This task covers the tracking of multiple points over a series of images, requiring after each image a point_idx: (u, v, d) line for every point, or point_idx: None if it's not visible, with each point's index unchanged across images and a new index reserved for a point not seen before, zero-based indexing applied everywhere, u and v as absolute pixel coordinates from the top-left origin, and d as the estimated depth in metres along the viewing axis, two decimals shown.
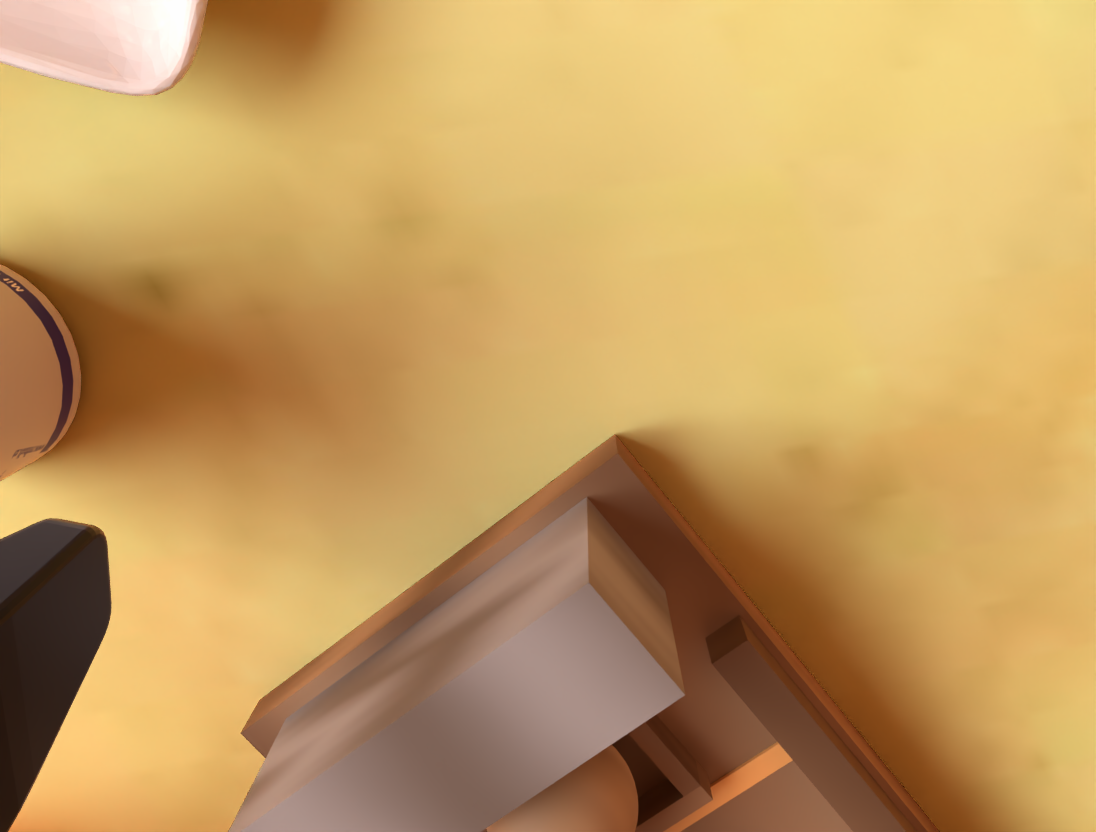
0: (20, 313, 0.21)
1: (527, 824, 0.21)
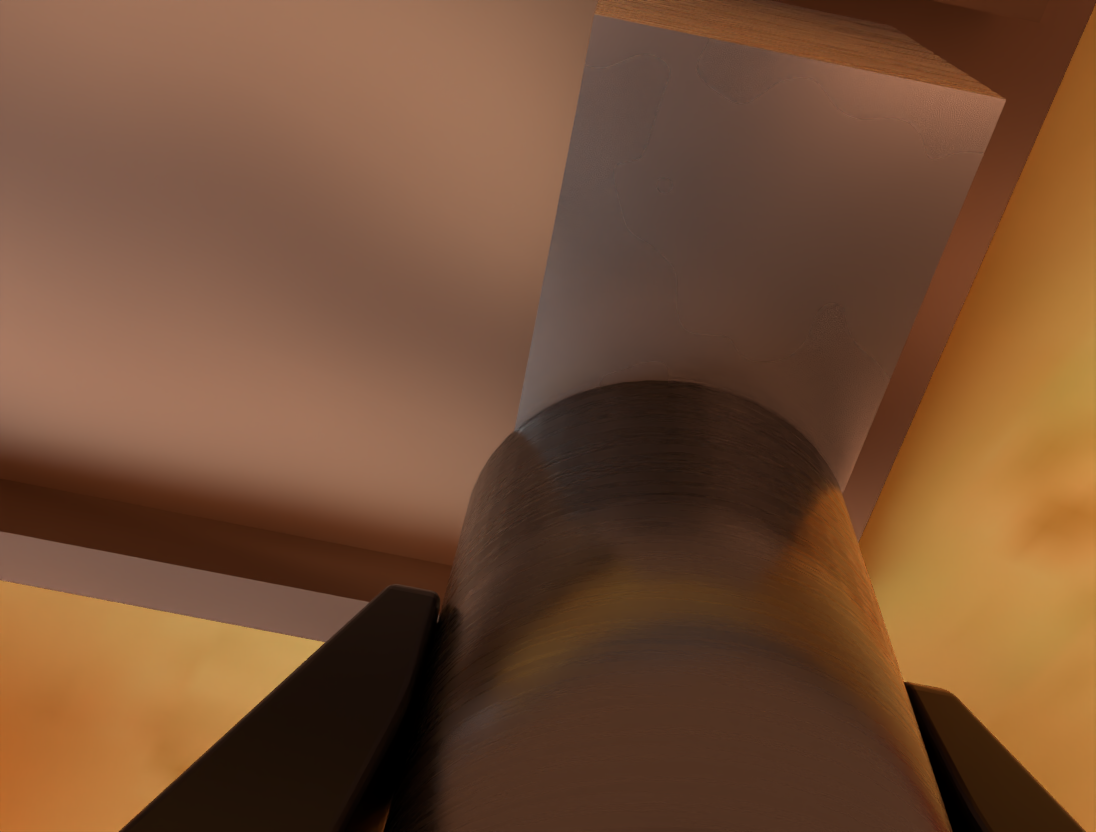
0: None
1: None
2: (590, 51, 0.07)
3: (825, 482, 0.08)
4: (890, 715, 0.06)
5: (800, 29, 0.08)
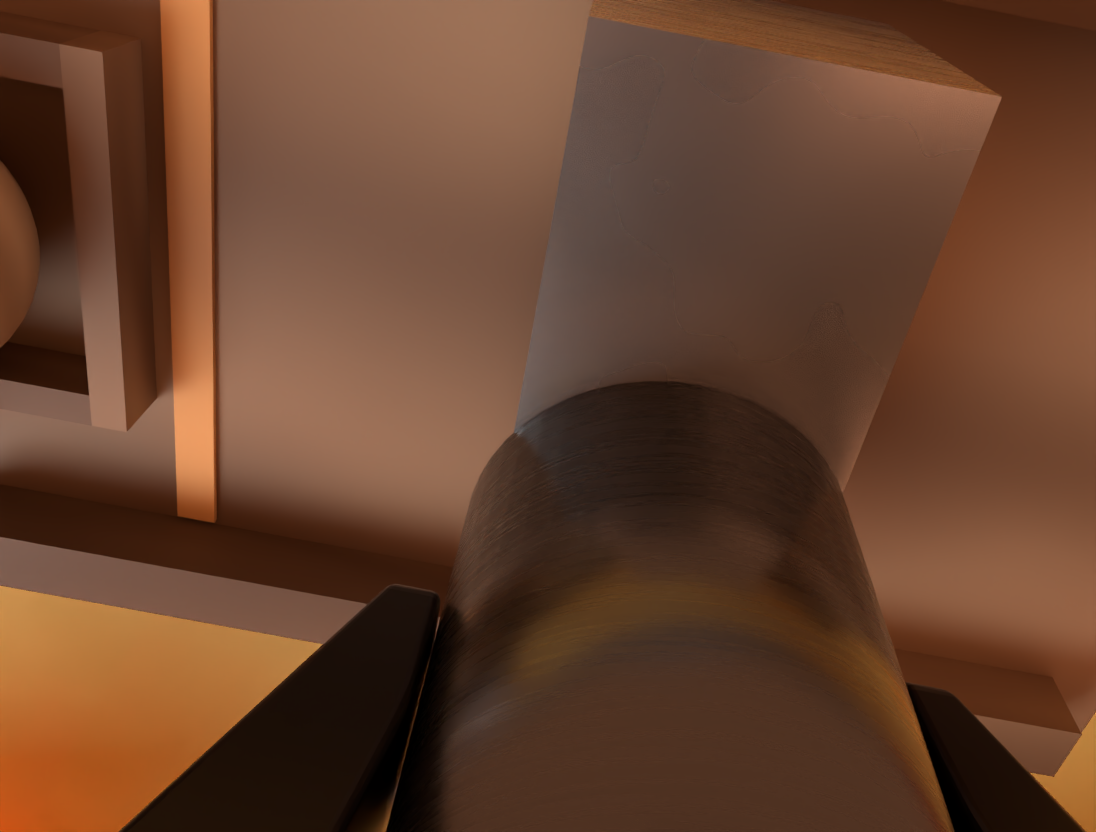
0: None
1: None
2: (585, 53, 0.07)
3: (825, 481, 0.08)
4: (890, 714, 0.06)
5: (795, 28, 0.08)
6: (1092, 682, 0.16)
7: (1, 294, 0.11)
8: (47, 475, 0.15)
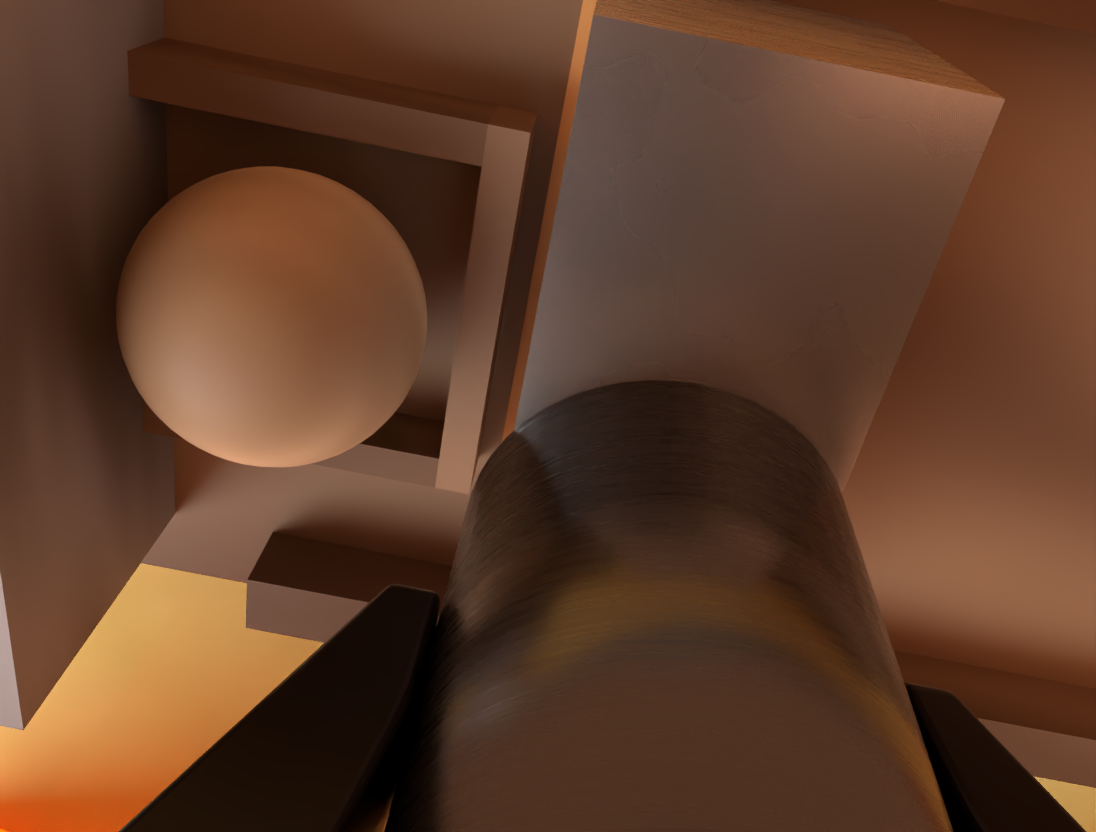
0: None
1: (144, 370, 0.10)
2: (589, 51, 0.07)
3: (825, 482, 0.08)
4: (891, 715, 0.06)
5: (799, 29, 0.08)
6: None
7: (413, 369, 0.11)
8: (350, 529, 0.15)
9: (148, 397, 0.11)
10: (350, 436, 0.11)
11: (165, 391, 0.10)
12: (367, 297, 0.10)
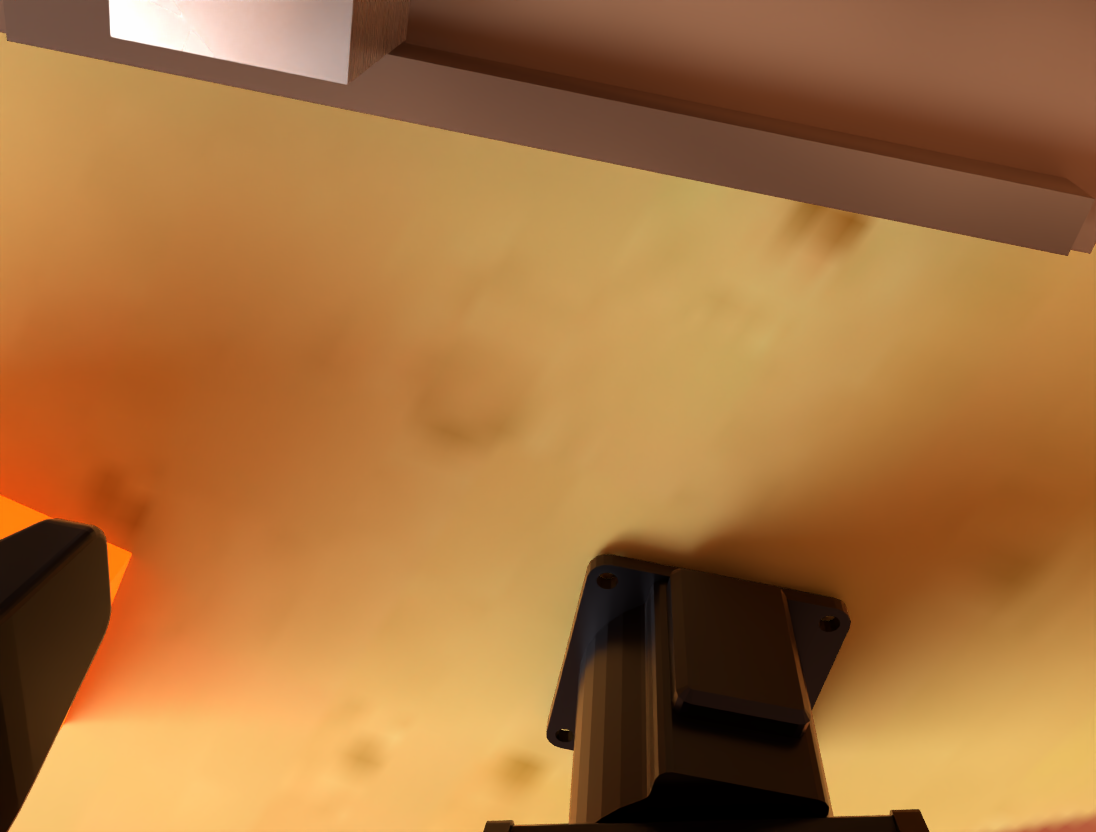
0: None
1: None
2: None
3: None
4: None
5: None
6: None
7: None
8: None
9: None
10: None
11: None
12: None
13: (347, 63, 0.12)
